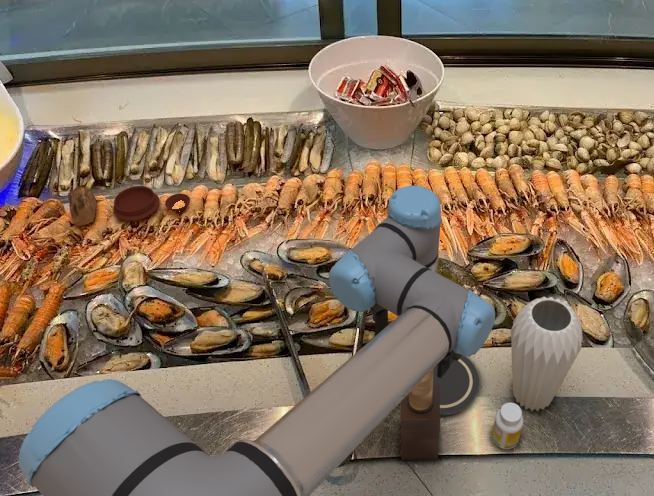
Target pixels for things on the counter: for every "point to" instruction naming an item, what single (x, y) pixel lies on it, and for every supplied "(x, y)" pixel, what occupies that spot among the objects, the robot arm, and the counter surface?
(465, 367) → the round coaster
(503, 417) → the supplement bottle
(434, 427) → the stand
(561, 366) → the vase
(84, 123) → the counter surface
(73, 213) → the decorative rock
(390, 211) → the robot arm
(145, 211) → the pottery
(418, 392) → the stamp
